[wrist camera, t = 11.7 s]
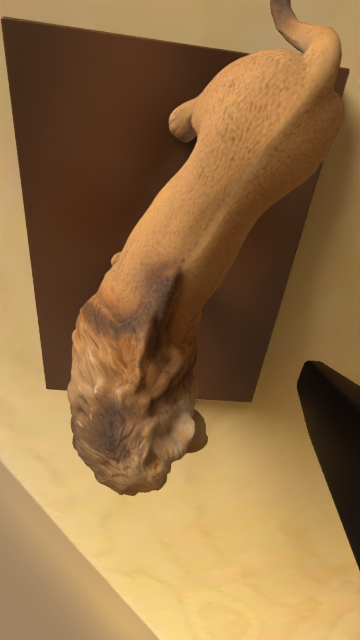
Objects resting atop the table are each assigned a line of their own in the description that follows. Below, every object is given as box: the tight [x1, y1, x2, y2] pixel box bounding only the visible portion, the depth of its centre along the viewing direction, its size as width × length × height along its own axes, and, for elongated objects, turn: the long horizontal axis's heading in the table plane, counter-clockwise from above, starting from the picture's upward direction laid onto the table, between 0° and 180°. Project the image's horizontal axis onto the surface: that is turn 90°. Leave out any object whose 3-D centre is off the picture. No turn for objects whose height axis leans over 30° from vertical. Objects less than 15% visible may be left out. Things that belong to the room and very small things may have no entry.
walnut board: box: [1, 17, 350, 402], centre depth 15 cm, size 12×16×1 cm
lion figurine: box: [67, 0, 344, 496], centre depth 9 cm, size 15×5×9 cm, turn 160°
